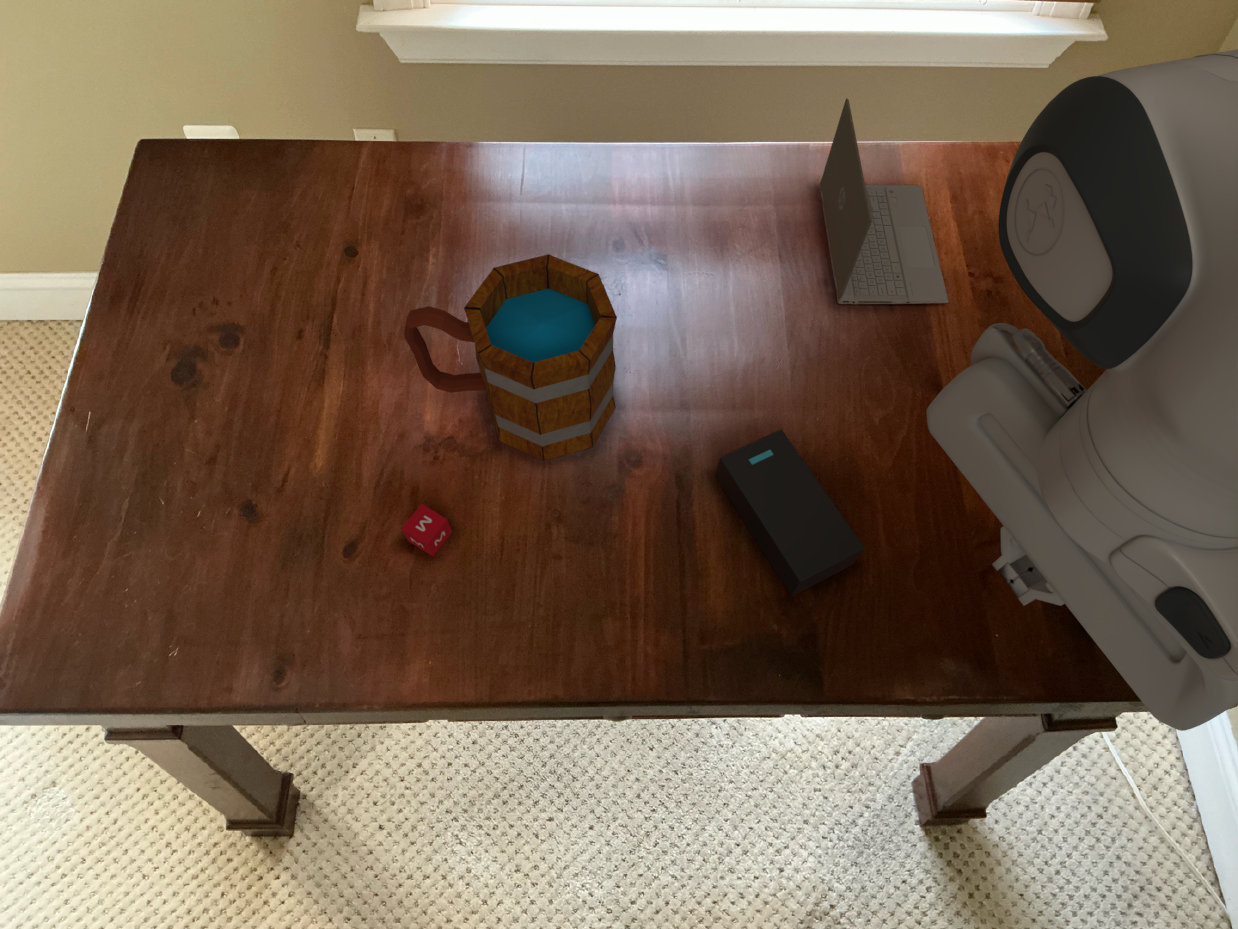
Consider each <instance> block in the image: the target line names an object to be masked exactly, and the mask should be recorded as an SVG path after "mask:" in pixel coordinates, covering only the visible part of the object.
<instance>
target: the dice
mask: <svg viewBox="0 0 1238 929" xmlns="http://www.w3.org/2000/svg"><path fill="white" fill-rule="evenodd" d="M401 531H402V533H403V534H404V537H405V538H406V540H407V542H409V543H410V544H412V545H413V546H415V547H417V548H418V549H420V550H422V551H423V552H424V553H426V554H428V555H429V556H431V557H434V556H435V555H436V554H437V553H438V551H439V549H441V547H442V546H443V545H444V543H445V542H446V541H447V540H448V538H449V537H451V536H450V535H451V534H452V533H453V530H452V527H451V526H450V523H449V521H448V518H446V517H444V516H443V515H441V514H440V513H438V512H437V511H436V510H435V511H434V510H433V509H432V508H430V507H428V506H426V505H425V504H423V503H421V504H420V505H419V506H418V508H416V510H415V511H414V512H413V513H412V514H411V516H410V517H409V518H408V519H407V520H406V522H405V523H404V524H403V525H402V526H401Z"/></svg>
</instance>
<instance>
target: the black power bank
mask: <svg viewBox="0 0 1238 929" xmlns="http://www.w3.org/2000/svg"><path fill="white" fill-rule="evenodd" d="M714 478H715V479H716V480H717V482H718V484H719V485H720V487H721V488H722V490H723V491H724V493H725V495H726V496H727V498H728V499H729V501H730V503H731V504H732V506H733V507H734V509H735V510H736V512H737V513H738V515H739V516H740V518H741V520H742V521H743V523H744V524H745V526H746V527H747V530H748V531H749V532H750V533H751V536H752V537H753V539H754V541H756V543H757V545H758V546H759V548H760V549H761V552H762V553H763V554H764V556H765V557H766V559H767V560H768V562H769V564H770V565H771V567H772V568H773V570H774V572H775V573H776V575H777V577H778V578H779V580H780V582H782V584H783V586H784V587H785V589H786V590H787V592H788V593H789V595H790V596H791V597H794V596H796V595H798V594H799V593H801V592H803V591H805V590H807V589H809V588H812V587H813V586H815V585H817V584H819V583H822V582H823V581H825V580H827V579H829V578H830V577H832V576H835V575H836V574H838V573H840V572H842V571H844V570H845V569H848V568H850V567H852V566H854V565H855V563H857V560H858V559H859V558H860V556H861V555H862V554H863V552H864V551H865V550H866V547H865V546H864V545H863V543H862V542H861V541H860V539H859V538H858V536H857V534H856V533H855V532H854V531H853V529H852V527H851V526H850V524H849V523H848V522H847V521H846V519H845V518H844V516H843V514H842V513H841V512H840V511H839V509H838V507H837V506H836V505H835V503H834V502H833V500H832V499H831V498H830V496H829V495H828V493H827V492H826V491H825V489H824V488H823V486H822V485H821V483H820V482H819V480H818V479H817V477H816V476H815V475H814V473H813V472H812V470H811V469H810V467H809V466H808V465H807V463H806V462H805V460H804V458H803V457H802V456H801V455H800V453H799V452H798V451H797V449H796V447H795V446H794V445H793V443H792V441H790V439H789V437H788V436H787V435H786V433H785V432H784V430H783V429H782V428H781V429H779V430H777V431H774V432H772V433H769V434H768V435H765V436H763V437H761V438H759V439H757V440H755V441H752V442H750V443H748V444H746V445H744V446H742V447H739V448H738V449H737V448H736V450H734V451H731V452H729V453H727V454H725V455H722V456H720V457H719V460H718V463H717V468H716V471H715V476H714Z"/></svg>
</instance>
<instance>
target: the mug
mask: <svg viewBox="0 0 1238 929" xmlns="http://www.w3.org/2000/svg"><path fill="white" fill-rule="evenodd" d="M463 309H464V313H465V316H466V319H467V321H464V320H461V319H460V318H458V317H456V316H454V315H453V314H451V313H449V312H448V311H446V310H444V309H440V308H437V307H433V306H429V305H427V306H424V307H420V308H416V309H415V308H414V309H411V310H409V313H408V314H407V317H406V320H405V325H404V332H403V333H404V339H405V340H406V343H407V345H408V346H409V348H410V350H411V352H412V354H413V356H414V358H415V361H416V365H417V367H418V369H419V371H420V373H421V376H422V377H423V379H424V380H426V381H427V382H428V383H429V384H430V385H432V387H434V388H435V389H436V390H440V391H444V392H447V393H461V392H477V391H485V402H486V404H487V407H488V410H489V413H490V417H491V420H492V423H493V426H494V430H495V433H496V436H497V440H498V441H499V442H500V443H503V444H505V445H507V446H510V447H512V448H514V449H516V450H518V451H521V452H523V453H525V454H527V455H529V456H532V457H534V458H536V459H538V460H541V461H543V462H545V461H549V460H551V459H556V458H560V457H563V456H566V455H569V454H573V453H577V452H580V451H583V450H587V449H591V448H593V447H594V446H595V444H596V443H597V441H598V440H599V437H600V435H601V434H602V432H603V430H604V429H605V427H606V425H607V423H608V422H609V420H610V418H611V417H612V415H613V413H614V412H615V410H616V409H617V408H616V403H615V399H614V379H615V373H616V368H617V367H616V358H615V352H614V332H615V329H616V323H617V320H618V319H617V318H618V317H617V314H616V311H615V309H614V307H613V304H612V302H611V300H610V298H609V295H608V293H607V291H606V288H605V285H604V283H603V281H602V278H601V276H600V274H599V273H598V272H595V271H592V270H591V269H587V268H585V267H583V266H579V265H577V264H575V263H572V262H570V261H567V260H564V259H563V258H560V257H557V256H554V255H552V254H543V255H539V256H535V257H531V258H527V259H524V260H520V261H515V262H511V263H507V264H503V265H499V266H495V267H493V268H492V269H491V271H489V273H488V275H487V276H486V277H485V278H484V280H483V281H482V283H481V284H480V285H479V287H478V288H477V289H476V291H475V292H474V293H473V294H472V296H471V298H470V299H469V300H468V302H467V303H466V304H465V306H464V307H463ZM423 326H427V327H430V328H433V329H437V330H441V331H442V332H444V333H446V334H447V335H449V336H451V337H452V338H454V339H456V340H458V341H461V342H468V343H469V342H470V343H474V348H475V359H476V362H477V365H478V368H479V372H468V373H461V374H460V373H459V374H452V373H449V372H444V371H442V370H440V369H439V368H438V367H437V366H436V365H435V364H434V362H433V359H432V357H431V354H430V352H429V349H428V346H427V343H426V341H425V339H424V337H423V335H422V334H421V332H420V330H419V327H423Z"/></svg>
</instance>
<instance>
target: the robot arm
mask: <svg viewBox="0 0 1238 929" xmlns="http://www.w3.org/2000/svg"><path fill="white" fill-rule="evenodd" d="M1033 120H1034V121H1033V122H1032V123H1031V125H1030V126H1029V128H1028V129H1027V131H1026V133H1025V134H1024V136H1023V137H1022V140H1021V142H1020V144H1019V145H1018V148H1017V150H1016V152H1015V154H1014V156H1013V160H1012V162H1011V165H1010V168H1009V171H1008V174H1007V175H1006V176H1007V177H1006V180H1005V184H1004V187H1003V192H1002V195H1001V201H1000V205H999V214H998V238H999V244H1000V249H1001V251H1002V254H1003V257H1004V259H1005V262H1006V264H1007V266H1008V268H1009V270H1010V272H1011V274H1012V276H1013V277H1014V279H1015V281H1016V283H1017V284H1018V286H1019V287H1020V288H1021V291H1022V292H1023V293H1024V294H1025V295H1026V296H1027V298H1028V299H1029V300H1030V301H1031V302H1032V303H1033V305H1034V306H1035V307H1036V308H1037V309H1038V310H1039V311H1040V312H1041V313H1042V314H1043V315H1044V316H1045V317H1046V318H1047V320H1048V321H1049V322H1050V323H1051V324H1052V326H1053V327H1054V328H1055V329H1056V330H1057V331H1058V332H1059V333H1060V335H1062V337H1063V338H1064V339H1065V340H1066V341H1067V342H1068V343H1069V344H1070V345H1071V346H1072V347H1073V348H1074V349H1075V350H1076V351H1077V352H1078V353H1079V354H1080V355H1082V356H1083V357H1084V358H1085V359H1086V360H1087V361H1089V362H1090V363H1092V364H1093V365H1095V366H1096V367H1098V368H1100V369H1103V370H1104V371H1103V373H1101V375H1100V376H1099V377H1098V378H1097V379H1096V380H1095V381H1094V382H1093V383H1092V384H1091V385H1090V387H1088V389H1086V388H1085V387H1084V386H1083V385H1082V384H1081V383H1080V381H1079V380H1078V379H1077V378H1076V377H1075V376H1074V375H1073V374H1072V373H1071V372H1070V371H1069V370H1068V369H1067V368H1066V367H1065V366H1064V365H1063V364H1062V363H1060V362H1059V361H1058V360H1057V359H1056V358H1054V356H1053V355H1052V354H1051V353H1050V352H1049V350H1047V349H1046V345H1045V344H1044V342H1043V341H1042V340H1041V339H1040V338H1039V336H1038V335H1036V334H1035V333H1034V332H1033V331H1031V330H1030V329H1028V328H1021V329H1019V328H1017V327H1016V326H1014V325H1012V324H1010V323H1008V322H1007V323H1005V322H996V323H993V324H991V325H989V326H988V327H987V328H986V329H985V330H984V331H983V332H982V333H981V335H980V336H979V338H978V340H977V341H976V343H975V344H974V345H973V347H972V349H971V353H970V366H969V367H966V368H965V369H964V370H962V371H961V372H960V373H959V374H957V375H956V376H955V377H954V378H952V380H950V381H949V382H948V383H947V384H946V385H945V386H944V387H943V388H942V389H941V390H940V391H939V392H938V394H937V395H936V396H935V397H934V399H933V400H932V401H931V402H930V404H928V406H927V408H926V413H925V414H926V424H927V429H928V431H929V433H930V435H931V436H932V438H934V440H935V441H936V442H937V443H938V445H939V446H940V447H941V449H942V450H943V451H944V452H945V454H946V455H947V456H948V457H949V459H950V460H951V462H952V463H953V464H954V465H955V466H956V467H957V469H958V470H959V471H960V472H961V474H962V475H963V477H964V478H965V479H966V480H967V482H968V483H969V484H970V485H971V487H972V488H973V490H974V491H975V492H976V493H977V495H979V497H980V498H981V499H982V500H983V503H984V504H986V506H987V507H988V508H989V510H990V511H991V512H992V513H993V514H994V516H995V517H996V519H998V521H999V522H1000V523H1001V525H1002V526H1001V527H1000V528H999V529H1000V531H999V532H1000V554H1001V555H1000V556H998V558H997V559H996V560H995V561H993V562H992V563H991V566H992V567H993V568H994V569H995V570H996V571H997V573H998V574H999V576H1001V578H1002V579H1003V580H1004V582H1005V583H1006V584H1007V586H1008V587H1009V588H1010V590H1011V592H1013V594H1014V595H1015V597H1016V598H1017V599H1018V601H1019V602H1020V603H1021V604H1022V606H1023V607H1024V606H1027V605H1028V604H1030V603H1032V602H1034V601H1035V600H1036V601H1037V600H1038V601H1041V602H1045V603H1048V604H1051V605H1052V604H1053V605H1056V606H1062V607H1063V605H1065V607H1067V609H1068V610H1069V611H1070V612H1071V614H1072V615H1073V616H1074V618H1075V619H1076V620H1077V622H1079V624H1080V625H1081V626H1082V627H1083V629H1084V630H1085V632H1086V633H1087V634H1088V635H1089V636H1090V638H1091V639H1092V640H1093V641H1094V643H1095V644H1096V646H1098V648H1099V649H1100V650H1101V652H1102V653H1103V655H1105V657H1106V658H1107V659H1108V661H1109V662H1110V663H1111V664H1112V666H1113V667H1114V668H1115V669H1116V671H1117V672H1118V673H1119V674H1120V676H1121V677H1122V678H1123V680H1124V681H1125V682H1126V683H1127V685H1128V686H1129V688H1131V690H1132V691H1133V693H1134V694H1135V695H1136V697H1137V698H1138V699H1139V700H1140V702H1142V704H1143V705H1144V706H1145V708H1146V709H1147V710H1148V712H1149V713H1150V714H1151V715H1152V716H1153V718H1154V719H1156V720H1157V721H1158V722H1161V723H1162V724H1164V725H1166V726H1168V727H1170V728H1173V729H1175V730H1178V731H1181V732H1183V731H1188V730H1192V729H1194V728H1197V727H1200V726H1201V725H1204V724H1206V723H1208V722H1209V721H1211V720H1213V719H1215V718H1217V717H1218V716H1219V715H1221V714H1223V713H1224V712H1226V711H1228V710H1230V709H1232V708H1233V707H1234V706H1236V705H1237V704H1238V48H1237V49H1232V50H1225V51H1218V52H1212V53H1208V54H1200V55H1195V56H1193V57H1186V58H1180V59H1175V60H1168V61H1163V62H1157V63H1151V64H1145V65H1140V66H1139V65H1138V66H1132V67H1127V68H1122V69H1117V70H1112V71H1109V72H1105V73H1101V74H1098V75H1092V76H1087V77H1083V78H1080V79H1078V80H1076V81H1074V82H1072V83H1070V84H1069V85H1068V86H1066V87H1065V88H1063V89H1062V90H1060V92H1058V94H1056V95H1055V97H1053V98H1052V99H1051V100H1050V101H1049V102H1048V103H1047V104H1046V106H1045V107H1044V108H1043V109H1042V110H1041V111H1040V112H1039V114H1037V116H1036V118H1035V119H1033Z"/></svg>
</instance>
